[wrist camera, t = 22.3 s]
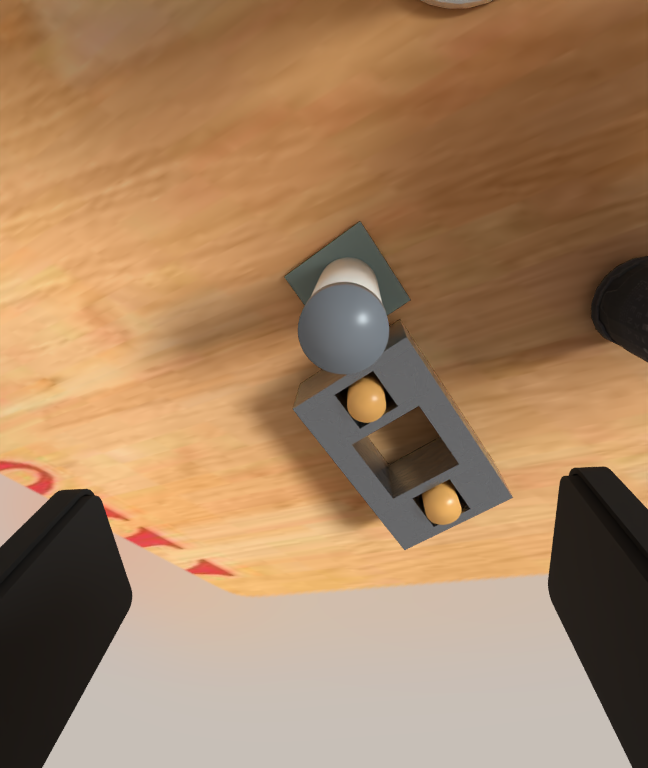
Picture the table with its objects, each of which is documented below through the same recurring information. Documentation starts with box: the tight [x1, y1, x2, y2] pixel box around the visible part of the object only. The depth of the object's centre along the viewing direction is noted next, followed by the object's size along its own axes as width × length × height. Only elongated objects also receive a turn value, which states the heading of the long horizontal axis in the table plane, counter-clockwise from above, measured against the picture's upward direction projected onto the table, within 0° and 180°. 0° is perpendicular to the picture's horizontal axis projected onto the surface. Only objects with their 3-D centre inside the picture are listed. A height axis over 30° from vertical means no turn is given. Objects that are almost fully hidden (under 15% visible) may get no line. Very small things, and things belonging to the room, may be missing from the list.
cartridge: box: [298, 257, 389, 374], centre depth 29 cm, size 5×5×12 cm
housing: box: [293, 320, 513, 550], centre depth 37 cm, size 16×10×5 cm, turn 35°
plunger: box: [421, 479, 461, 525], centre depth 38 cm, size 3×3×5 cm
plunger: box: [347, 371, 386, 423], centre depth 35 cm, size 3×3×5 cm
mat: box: [285, 221, 410, 315], centre depth 35 cm, size 7×7×1 cm
